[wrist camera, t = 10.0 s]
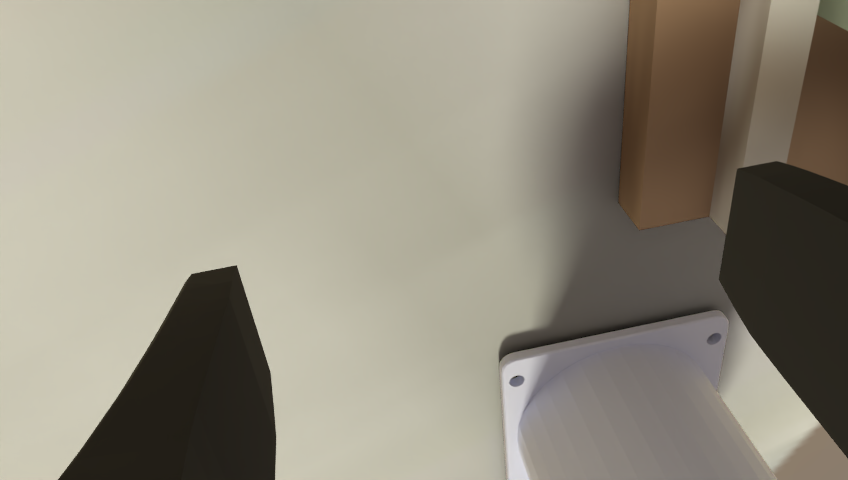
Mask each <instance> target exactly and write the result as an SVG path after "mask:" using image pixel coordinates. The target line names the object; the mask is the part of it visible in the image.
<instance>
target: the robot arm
mask: <svg viewBox="0 0 848 480" xmlns="http://www.w3.org/2000/svg"><path fill="white" fill-rule="evenodd" d="M719 280H720V282H721V284H722V286H723V288H724V290H725V291H726V293H727V295H728V297H729V299H730V300H731V302H732V304H733V306H734V308H735V310H736V311H737V313H738V315H739V316H740V318H741V320H742V321H743V323H744V325H745V326H746V328H747V329H748V331H749V333H750V334H751V336H752V337H753V339H754V340H755V341H756V343H757V344H758V345H759V347H760V348H761V349H762V350H763V352H764V353H765V354H766V356H767V357H768V358H769V359H770V361H771V362H772V363H773V365H774V366H775V367H776V368H777V370H778V371H779V372H780V374H781V375H782V376H783V377H784V379H785V380H786V381H787V382H788V384H789V385H790V386H791V387H792V389H793V390H794V391H795V392H796V394H797V395H798V396H799V398H800V399H801V400H802V401H803V403H804V404H805V405H806V406H807V408H808V409H809V410H810V411H811V413H812V414H813V415H814V416H815V418H816V419H817V420H818V421H819V423H820V424H821V425H822V426H823V428H824V429H825V430H826V431H827V433H828V434H829V435H830V436H831V438H832V439H833V440H834V442H835V443H836V444H837V445H838V447H839V448H840V449H841V450H842V452H843V453H844V454H845V455H846V457H847V458H848V186H847V185H845V184H842V183H840V182H837V181H835V180H832V179H829V178H827V177H824V176H821V175H818V174H816V173H813V172H810V171H807V170H805V169H802V168H799V167H796V166H792V165H789V164H786V163H782V162H779V161H774V162H769V163H764V164H758V165H753V166H748V167H743V168H738V169H737V172H736V178H735V184H734V190H733V196H732V202H731V208H730V215H729V221H728V227H727V233H726V239H725V245H724V251H723V258H722V264H721V270H720V276H719ZM728 327H729V320H728V319H727V317H726V316H725V315H724V314H723V312H722V311H719V310H713V311H708V312H703V313H698V314H693V315H689V316H684V317H679V318H674V319H670V320H665V321H660V322H656V323H651V324H646V325H641V326H637V327H632V328H627V329H622V330H618V331H613V332H608V333H603V334H599V335H594V336H589V337H584V338H580V339H575V340H570V341H565V342H561V343H556V344H551V345H546V346H542V347H537V348H532V349H527V350H523V351H518V352H513V353H510V354H508V355H506V356H505V357H503V358H502V360H501V361H500V364H499V373H500V389H501V405H502V421H503V437H504V452H505V468H506V480H778V479H777V478H776V477H775V475H774V474H773V472H772V471H771V469H770V468H769V466H768V465H767V464H766V462H765V461H764V459H763V458H762V456H761V455H760V453H759V452H758V450H757V449H756V448H755V446H754V445H753V443H752V442H751V440H750V439H749V437H748V436H747V435H746V433H745V432H744V430H743V429H742V427H741V426H740V424H739V423H738V421H737V420H736V419H735V417H734V416H733V414H732V413H731V411H730V410H729V408H728V407H727V405H726V404H725V403H724V401H723V400H722V398H721V397H720V395H719V394H718V392H717V388H718V383H719V377H720V372H721V366H722V361H723V355H724V350H725V344H726V339H727V333H728ZM710 335H711V336H710ZM517 375H519V376H518V377H516V378H512V377H514V376H517ZM275 460H276V430H275V417H274V405H273V395H272V384H271V374H270V370H269V366H268V363H267V360H266V357H265V354H264V351H263V347H262V344H261V341H260V338H259V335H258V332H257V328H256V325H255V322H254V319H253V316H252V313H251V310H250V306H249V303H248V300H247V297H246V294H245V291H244V287H243V284H242V281H241V278H240V275H239V272H238V268H237V265H236V266H231V267H226V268H221V269H215V270H210V271H205V272H200V273H195V274H191V276H190V277H189V278H188V280H187V281H186V282H185V284H184V286H183V288H182V289H181V291H180V293H179V295H178V297H177V298H176V300H175V302H174V304H173V306H172V307H171V309H170V311H169V313H168V315H167V316H166V318H165V320H164V322H163V323H162V325H161V327H160V329H159V330H158V332H157V334H156V335H155V337H154V339H153V341H152V342H151V344H150V346H149V347H148V349H147V351H146V352H145V354H144V356H143V357H142V359H141V360H140V362H139V364H138V365H137V367H136V368H135V370H134V372H133V373H132V375H131V376H130V378H129V380H128V381H127V383H126V385H125V386H124V388H123V389H122V391H121V392H120V394H119V395H118V397H117V398H116V400H115V401H114V403H113V404H112V406H111V407H110V409H109V410H108V412H107V413H106V414H105V416H104V417H103V419H102V420H101V422H100V423H99V424H98V426H97V427H96V429H95V430H94V432H93V433H92V434H91V436H90V437H89V439H88V440H87V442H86V443H85V445H84V446H83V447H82V449H81V450H80V451H79V453H78V454H77V456H76V457H75V458H74V459H73V461H72V462H71V463H70V465H69V466H68V467H67V469H66V470H65V471H64V473H63V474H62V475H61V476H60V478H59V479H58V480H275Z"/></svg>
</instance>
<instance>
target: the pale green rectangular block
mask: <svg viewBox="0 0 848 480" xmlns="http://www.w3.org/2000/svg"><path fill="white" fill-rule="evenodd" d="M817 15H818V16H820V17H822V18H824V19H826V20H828V21H830V22H832V23H833V24H835V25H837V26H839V27H841V28H843V29H845V30H847V31H848V0H820V3H819V8H818V13H817Z"/></svg>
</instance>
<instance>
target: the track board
mask: <svg viewBox="0 0 848 480" xmlns="http://www.w3.org/2000/svg"><path fill="white" fill-rule="evenodd" d="M819 3H820V0H630V10H629V27H628V45H627V62H626V79H625V97H624V114H623V131H622V149H621V166H620V183H619V201H618V203H619V204H620V206H621V207H622V208H623V210H624V211H625V212H626V213H627V215H628V216H629V217H630V219H631V220H632V221H633V223H634V224H635V225H636V227H637V228H638V229H639V230H644V229H649V228H654V227H659V226H664V225H669V224H674V223H679V222H684V221H689V220H694V219H699V218H704V217H710V218H711V219H712V220H713V221H714V222H715V223H716V224H717V225H718V226H719V228H720V229H721V230H722V231H723V232H724V233H725V234H726V233H727V227H728V221H729V215H730V208H731V202H732V196H733V190H734V184H735V178H736V172H737V169H738V168H743V167H748V166H753V165H758V164H764V163H769V162H774V161H779V162H782V163H786V164H789V165H792V166H796V167H799V168H802V169H805V170H807V171H810V172H813V173H816V174H818V175H821V176H824V177H827V178H829V179H832V180H835V181H837V182H840V183H842V184H845V185H847V186H848V31H847V30H845V29H843V28H841V27H839V26H837V25H835V24H833V23H832V22H830V21H828V20H826V19H824V18H822V17H820V16H818V15H817V13H818V8H819Z"/></svg>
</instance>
